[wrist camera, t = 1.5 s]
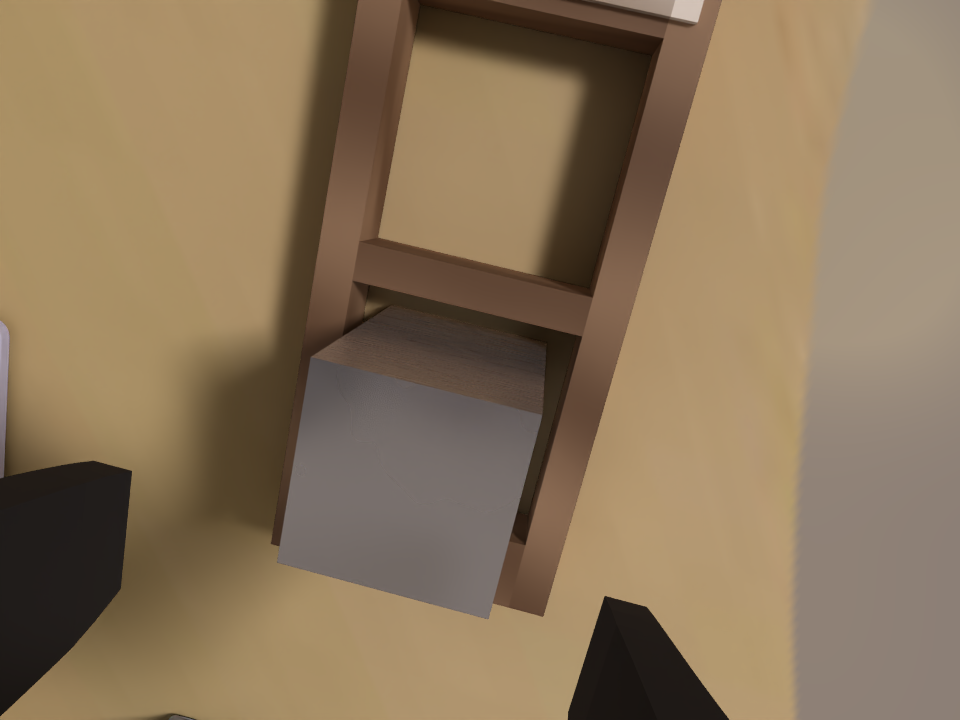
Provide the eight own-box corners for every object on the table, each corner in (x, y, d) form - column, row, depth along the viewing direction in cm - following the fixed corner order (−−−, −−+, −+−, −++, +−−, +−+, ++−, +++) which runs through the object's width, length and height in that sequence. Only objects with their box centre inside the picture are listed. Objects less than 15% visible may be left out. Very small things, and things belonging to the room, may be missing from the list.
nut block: (509, 485, 20) (488, 619, 13) (364, 448, 20) (277, 562, 14) (546, 342, 18) (542, 414, 12) (392, 304, 19) (310, 357, 12)
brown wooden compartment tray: (543, 580, 20) (543, 621, 18) (295, 515, 21) (267, 547, 19) (818, -380, 14) (860, -471, 12) (457, -446, 15) (442, -546, 13)
